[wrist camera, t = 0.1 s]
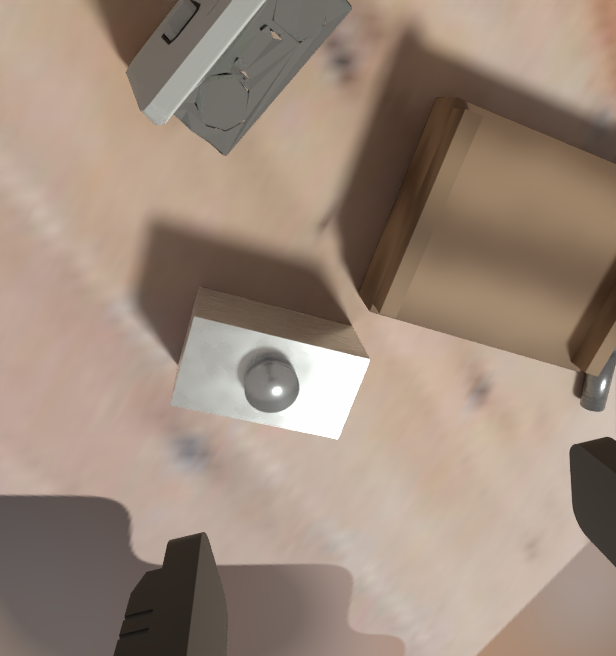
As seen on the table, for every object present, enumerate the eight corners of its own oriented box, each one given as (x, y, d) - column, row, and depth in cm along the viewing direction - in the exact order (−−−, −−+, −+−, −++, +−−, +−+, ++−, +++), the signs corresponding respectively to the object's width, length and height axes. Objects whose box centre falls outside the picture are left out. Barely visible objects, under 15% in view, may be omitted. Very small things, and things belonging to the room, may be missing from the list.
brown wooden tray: (436, 97, 29) (470, 98, 25) (647, 184, 33) (705, 197, 29) (358, 293, 33) (376, 321, 29) (553, 351, 37) (593, 383, 33)
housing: (198, 285, 32) (193, 322, 27) (351, 324, 35) (373, 366, 29) (178, 363, 34) (168, 412, 29) (324, 396, 36) (340, 447, 31)
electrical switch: (246, -87, 25) (276, -152, 17) (322, 4, 27) (379, -15, 19) (124, 71, 27) (99, 80, 19) (204, 143, 29) (212, 179, 21)
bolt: (585, 326, 37) (609, 342, 34) (620, 323, 37) (646, 339, 35) (569, 401, 39) (590, 420, 37) (601, 398, 39) (625, 417, 37)
